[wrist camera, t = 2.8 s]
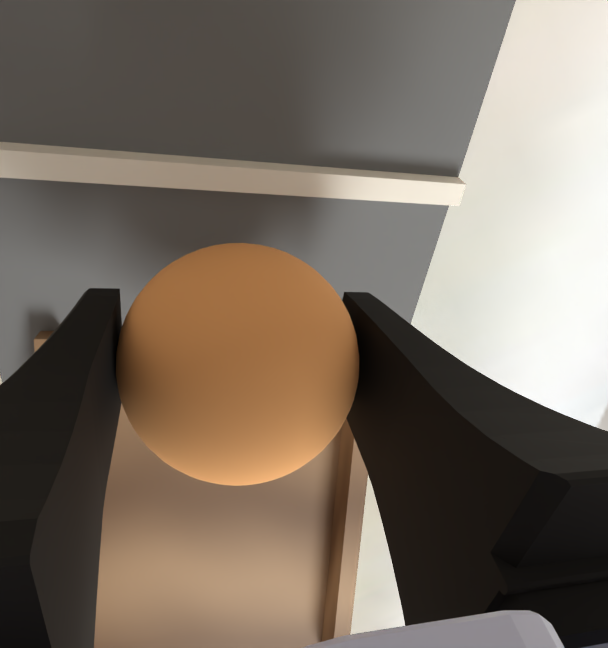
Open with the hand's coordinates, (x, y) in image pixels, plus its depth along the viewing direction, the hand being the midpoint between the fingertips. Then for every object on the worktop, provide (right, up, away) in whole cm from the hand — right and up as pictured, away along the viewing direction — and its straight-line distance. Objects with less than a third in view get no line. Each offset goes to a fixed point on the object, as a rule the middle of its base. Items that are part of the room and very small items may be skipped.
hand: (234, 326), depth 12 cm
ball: (0, -1, -1) cm, 1 cm away
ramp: (-2, -5, +8) cm, 10 cm away
